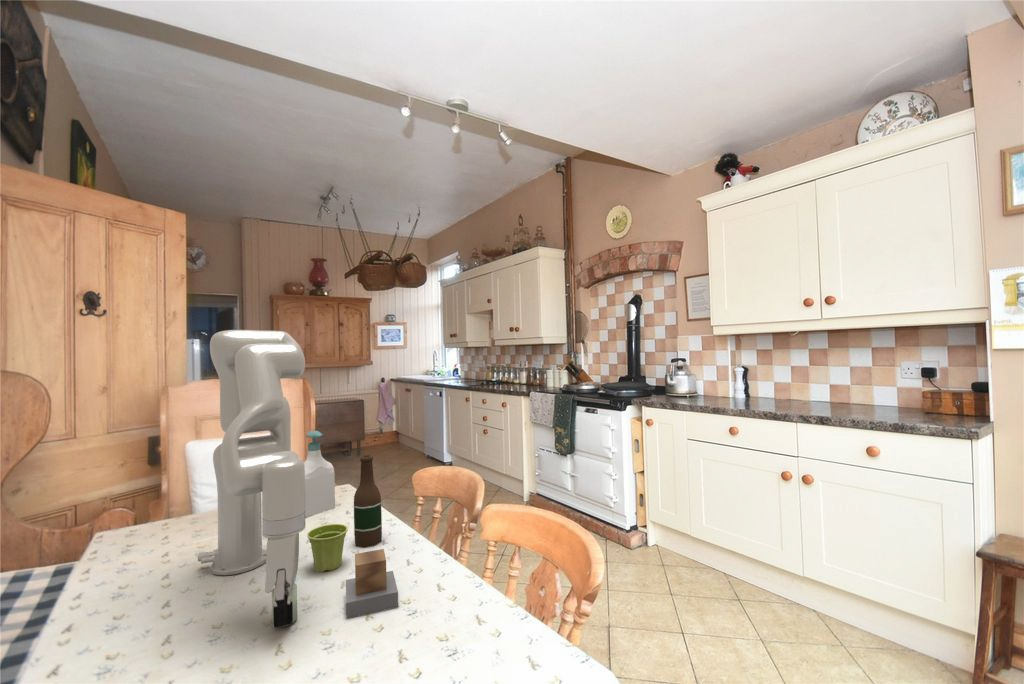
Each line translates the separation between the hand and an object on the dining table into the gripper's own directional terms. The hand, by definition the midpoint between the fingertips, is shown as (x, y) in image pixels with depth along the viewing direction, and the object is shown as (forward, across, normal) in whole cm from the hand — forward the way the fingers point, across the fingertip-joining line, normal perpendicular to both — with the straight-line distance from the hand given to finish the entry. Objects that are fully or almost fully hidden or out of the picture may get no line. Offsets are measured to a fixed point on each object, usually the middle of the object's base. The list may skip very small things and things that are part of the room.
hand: (284, 616), depth 86 cm
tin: (+1, 0, 0) cm, 1 cm away
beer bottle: (+2, -34, +17) cm, 38 cm away
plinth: (+1, -2, +16) cm, 16 cm away
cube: (-2, -2, +16) cm, 16 cm away
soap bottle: (+3, -68, +2) cm, 69 cm away
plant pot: (+2, -22, +7) cm, 24 cm away
